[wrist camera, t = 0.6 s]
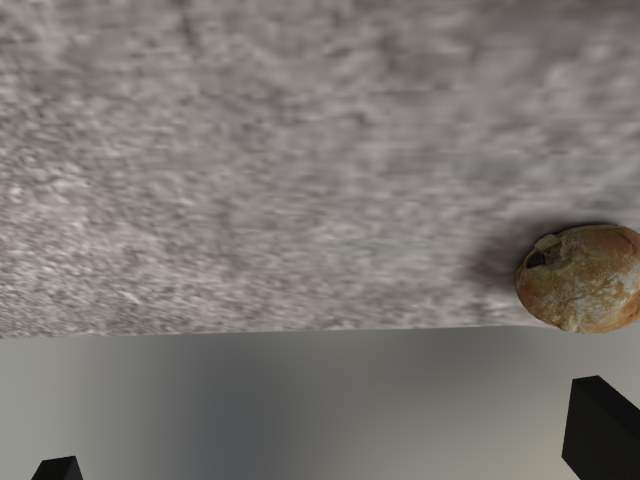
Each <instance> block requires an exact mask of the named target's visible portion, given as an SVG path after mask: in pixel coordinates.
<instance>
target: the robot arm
mask: <svg viewBox="0 0 640 480" xmlns="http://www.w3.org/2000/svg"><path fill="white" fill-rule="evenodd" d="M562 458H563V459H564V461H565V462H566V463H567V464H568V465H569V466H570V468H571V469H572V470H573V471H574V473H575V474H576V475H577V476H578V477H579V479H580V480H640V410H639V409H638V408H637V407H636V406H634V405H633V404H632V403H631V402H630V401H628V400H627V399H626V398H625V397H624V396H622V395H621V394H620V393H619V392H618V391H616V390H615V389H614V388H613V387H612V386H610V385H609V384H608V383H607V382H606V381H604V380H603V379H602V378H601V377H600V376H598V375H597V376H591V377H584V378H577V379H573V380H572V387H571V394H570V401H569V409H568V416H567V422H566V429H565V436H564V443H563V450H562ZM31 480H83V478H82V475H81V472H80V468H79V465H78V463H77V459H76V457H75V456H69V457H63V458H56V459H50V460H43V461H42V462H41V464H40V466H39V467H38V469H37V471H36V473H35V474H34V476H33V477H32V479H31Z"/></svg>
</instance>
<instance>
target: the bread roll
mask: <svg viewBox="0 0 640 480" xmlns="http://www.w3.org/2000/svg"><path fill="white" fill-rule="evenodd" d="M534 247H535V248H534V249H533V250H532V251H531V252H530V253H529V254H528V255H527V257H526V258H525V260H524V262H523V263H522V265H521V266H520V267H519V268H518V270H517V271H516V273H515V278H514V283H515V289H516V293H517V295H518V298H519V300H520V301H521V303H522V304H523V306H524V307H525V308H526V309H527V310H528V312H529V313H530V314H532V315H533V316H535V317H536V318H537V319H539V320H541V321H543V322H545V323H547V324H549V325H552V326H556V327H559V328H560V329H561V330H563V331H571V332H575V333H581V334H595V333H606V332H610V331H613V330H616V329H619V328H622V327H624V326H626V325H628V324H630V323H632V322H634V321H636V320H637V319H639V318H640V234H639V233H637V232H635V231H633V230H631V229H629V228H627V227H625V226H620V227H619V226H615V225H614V226H613V225H607V224H604V225H593V226H579V227H574V228H571V229H568V230H564V231H562V232H560V233H558V234H556V235H551V234H547V235H546V236H544V237H543V238H541V239H540V240H539V241H538V242H537V243H536V244H535V245H534Z"/></svg>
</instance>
